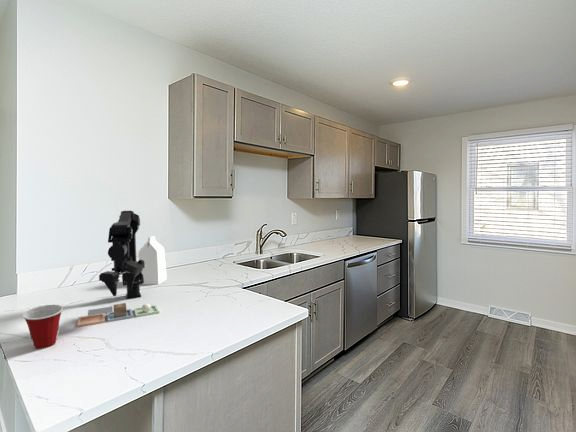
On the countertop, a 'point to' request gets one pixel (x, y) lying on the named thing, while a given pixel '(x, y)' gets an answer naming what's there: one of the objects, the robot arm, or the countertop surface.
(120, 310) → the letter cube
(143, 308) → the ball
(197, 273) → the countertop surface
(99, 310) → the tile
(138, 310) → the dish sage
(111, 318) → the dish slate
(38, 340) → the plastic cup
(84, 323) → the dish terracotta
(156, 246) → the milk
